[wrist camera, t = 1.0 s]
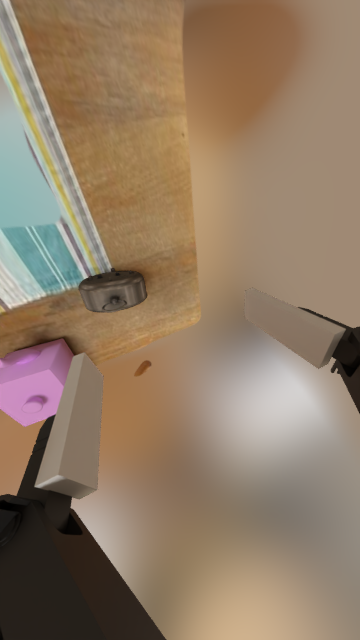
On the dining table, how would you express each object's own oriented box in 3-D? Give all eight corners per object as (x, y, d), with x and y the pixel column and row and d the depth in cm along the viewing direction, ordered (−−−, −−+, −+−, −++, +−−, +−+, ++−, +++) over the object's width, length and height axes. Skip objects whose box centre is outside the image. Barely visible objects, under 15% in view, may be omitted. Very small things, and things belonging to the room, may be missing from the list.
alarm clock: (91, 295, 34) (77, 337, 21) (81, 269, 31) (58, 299, 18) (142, 286, 37) (158, 318, 24) (137, 262, 34) (153, 283, 21)
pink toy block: (90, 375, 43) (84, 420, 33) (49, 389, 41) (28, 442, 31) (51, 312, 33) (23, 350, 23) (-9, 326, 30) (-69, 376, 20)
